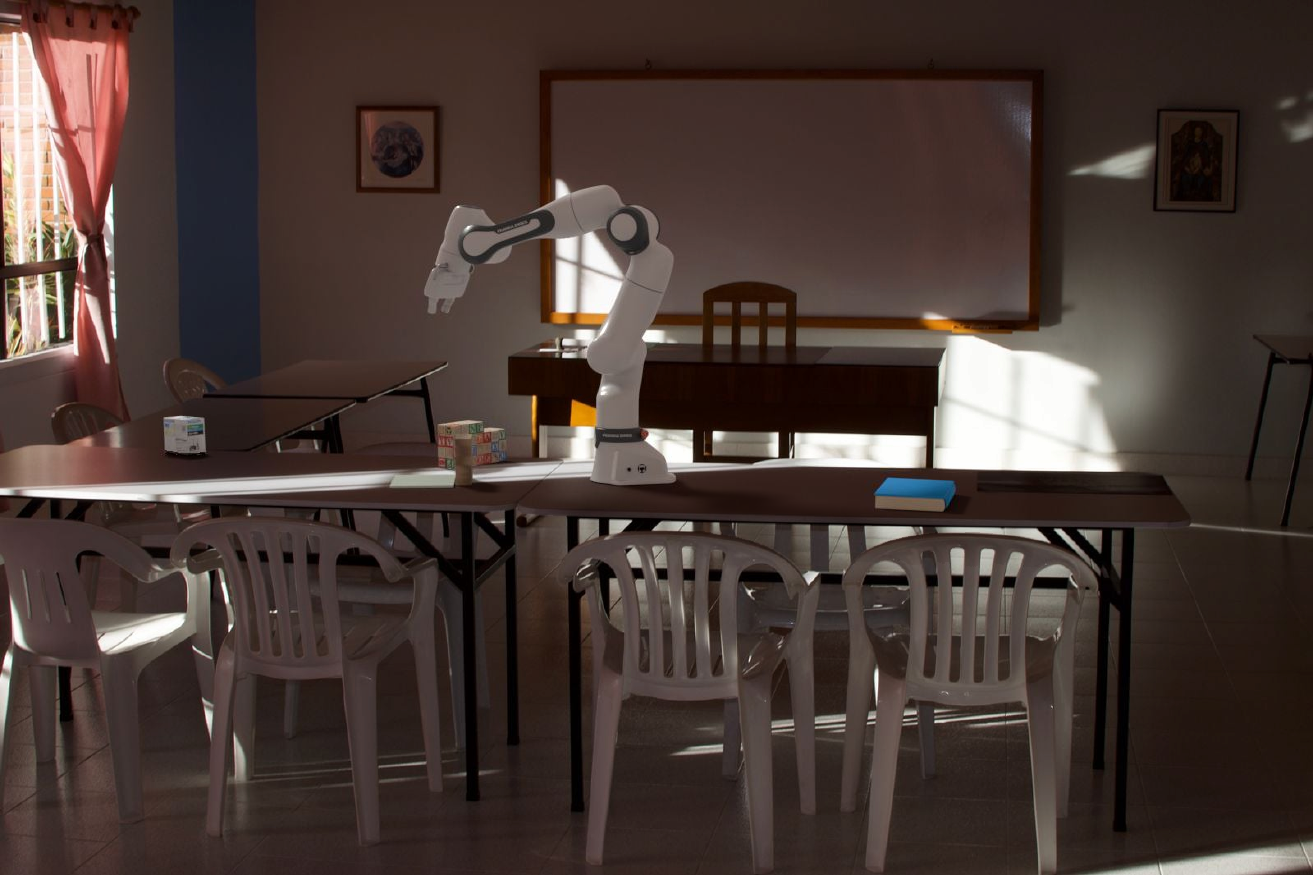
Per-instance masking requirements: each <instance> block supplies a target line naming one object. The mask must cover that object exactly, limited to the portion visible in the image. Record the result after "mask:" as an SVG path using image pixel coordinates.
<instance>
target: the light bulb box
mask: <svg viewBox="0 0 1313 875" xmlns="http://www.w3.org/2000/svg"><path fill="white" fill-rule="evenodd" d="M205 426H206V425H205V418H204V417H196V416H195V417H194V416H186V415H184V416H183V415H179V416H178V415H177V416H168V417H167V416H166V417H165V416H164V417H163V432H164V434H163V435H164V436H163V437H164V451H165V450H167V451H173V452H178V453H200V452H206V453H207V450H206V448H207V447H206V432H205V431H206V427H205Z"/></svg>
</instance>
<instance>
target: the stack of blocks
mask: <svg viewBox="0 0 1313 875" xmlns="http://www.w3.org/2000/svg"><path fill="white" fill-rule="evenodd" d="M484 422H485V421H480V420H479V421H478V420H470V419H469V420H468V419H467V420H461V421H459V420H458V421H453V422H448V423H440V424H437V460H438V461H437V464H438V465H437V467H438V468H440V467H445V468H444V469H448V468H451V469H450V470H456V464H455V438H456V435H457V434H472V464H473V467H476V466H483V465H488V464H493V463H498V462H500V463H501V462H505V461H507V436H506V435H507V434H506V433H507V431H506V429H505V428H499V427H498V428H497V427H485V424H484ZM495 456H496V457H495Z"/></svg>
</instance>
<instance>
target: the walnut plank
mask: <svg viewBox="0 0 1313 875" xmlns="http://www.w3.org/2000/svg"><path fill="white" fill-rule="evenodd" d="M455 464H456V469H455V474H456V479H455V486H472V484H473V477H474V476H473V475H474V473H473V471H474V470H473V469H474V468H473V467H474V466H473V464H472V434H457V435H456V438H455Z"/></svg>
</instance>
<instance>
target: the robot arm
mask: <svg viewBox="0 0 1313 875" xmlns="http://www.w3.org/2000/svg"><path fill="white" fill-rule="evenodd" d="M661 227H662V226H661V222H660V218H659V217H658V215H657V214H656V213H655V212H654V211H653V210H651V209H649V208H648V207H644V206H640V205H635V204H629V203H627V204H624V203H623V202H622V200H621V197H620V195H619V193H618V192H617V191H616V190H615V188H614V187H612V186H610V185H607V184H601V185H596V186H591V187H587V188H583V189H578V190H576V191H573V192H570V193H568V194H566V195H563V196H561V197H559V198H556V199H554V200H553V201H551V202H549V203H547V204H545V205H543V206H542V207H541V206H540V207H538V208H537V209H535V210H533V211H531V212H528V213H527V214H523V215H520V216H518V217H515V218H512V219H508V220H506V221H503V222H500V223H497V224H496V223H495V222H493V221H492V220H491V218H490V217H489V216H488V215H487V214H486V212H485V210H484V209H483V208H481V207H478V206H474V205H466V204H459V205H457V206H455V207H454V209H453V210H452V212H451V214H450V216H449V218H448V221H447V225H446V226H445V230H444V239H443V242H442V243H441V245H440V247H439V250H438V254H437V256H436V261H435V262H434V264H435V266H436V267H435V268H433V269H432V270H431V272H430V274H429V276H428V279H427V281H426V283H425V287H424V290H423V294H424V296H425V297H427V298H428V306H427V307H428V308H427V313H429V314H431V315H433V314H436V313H437V309H438V307H437V303H438V302H439V301H440V300H441V299H445V300H444V302H443V304H442V306H441V308H440V311H441V312H443V313H446V314H448V313H449V312H450V309H451V307H452V305H453V304H454V303H455V299H456V298H462V297H463V295H464V293H465V292H466V288H467V286H468V283H469V281H470V277H471V274H473V272H474V270H475V265H477V266H478V265H482V264H483V265H485V264H487V265H488V264H499V263H502V262H505V261H507V259H508V258H509V257H510V256H511V253H512V250H513V246H515V245H517V244H521V243H524V242H527V241H531V240H536V239H537V240H538V239H554V240H557V239H559V240H560V239H562V240H563V239H570V238H571V239H572V238H575V237H579V236H583V235H586V234H589V233H591V232H594V231H597V230H599V229H600V230H601V229H606V234H607V236H608V238H609V239H610V240H611V242H612V243H613V244H614V245H615V246H616V247H618V248H619V249H620V250H621V251H622V252H623V253H625V254H626V255H627V256H630V261H629V262H630V263H629V265H628V268H627V270H626V273H625V276H624V278H623V281H622V283H621V285H620V288H619V291H618V293H617V296H616V299H615V301H614V303H613V304H612V307H611V309H610V311H609V312H608V314H607V316H606V318H605V319H604V321H603V322H602V324H601V326H600V328H599V329H598V331H597V334H596V335H595V337H594V338H593V340H592V341H590V342H591V343H589V346H587V347H588V348H587V351H586V359H587V363H588V365H589V367H590V368H591V369H592V371H594V372H596V373H598V374H601V379H600V385H599V388H598V391H597V394H596V398H595V399H596V405H595V407H596V410H595V411H596V412H595V413H596V415H595V416H596V418H595V419H596V424H595V425H596V426H594V432H593V433H594V434H593V436H594V437H593V438H594V439H593V440H594V441H593V443H594V444H593V445H594V448H595V454H594V462H593V467H592V471H591V474H590V478H589V480H590V481H591V482H592V481H593V482H595V483H601V484H609V485H614V486H630V485H631V486H632V485H633V486H635V485H636V486H637V485H657V484H660V485H661V484H673V483H674V482H676V481H677V477H676V475H675V474H674V473H672V472H670V471H669V468H668V463H667V460H666V457H665V456H664V455H663V453H662V452H660V451H659V450H658V449H657V448H655V447H654V446H653V445H651V444H650V443H649V442H648V441H646V440H647V438H648V437H649V436H650V432H649V430H647V429H644V428H642V427H641V426H639V406H640V405H639V399H640V389H641V385H642V377H643V370H644V363H645V360H646V357H647V352H648V348H647V344H646V342H645V341H644V338H643V336H644V335H645V334H646V332H647V330H648V329H649V327H650V326H651V324H652V323H653V322H654V320H655V319H656V318H655V317H656V315H657V313H658V311H659V308H660V306H661V303H662V300H663V298H664V295H665V294H666V292H667V291H666V290H667V288H668V285H669V281H670V279H671V275H672V272H673V266H674V262H675V261H674V259H675V258H674V254H673V253H672V251H671V250H670V249H669V248H668V246H665V245H664V244H662V243H660V242H658V238H659V237H660V234H661ZM439 299H440V300H439Z"/></svg>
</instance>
